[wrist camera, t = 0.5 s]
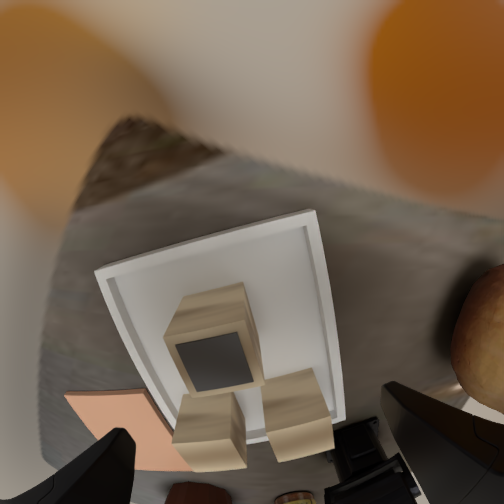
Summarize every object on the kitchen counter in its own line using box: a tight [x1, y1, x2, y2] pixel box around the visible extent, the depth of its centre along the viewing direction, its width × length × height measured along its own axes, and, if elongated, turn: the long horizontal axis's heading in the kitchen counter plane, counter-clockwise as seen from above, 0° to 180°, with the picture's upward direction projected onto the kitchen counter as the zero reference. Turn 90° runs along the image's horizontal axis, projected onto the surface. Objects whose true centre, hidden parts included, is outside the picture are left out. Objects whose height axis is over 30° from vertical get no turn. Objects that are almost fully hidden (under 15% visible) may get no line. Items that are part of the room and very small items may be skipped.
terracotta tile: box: [64, 388, 193, 471], centre depth 23 cm, size 14×11×1 cm
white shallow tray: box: [94, 209, 346, 444], centre depth 20 cm, size 20×16×2 cm
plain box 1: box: [171, 392, 247, 472], centre depth 19 cm, size 4×4×6 cm
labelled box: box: [163, 282, 265, 398], centre depth 17 cm, size 4×4×6 cm
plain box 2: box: [261, 368, 335, 463], centre depth 19 cm, size 4×4×6 cm
